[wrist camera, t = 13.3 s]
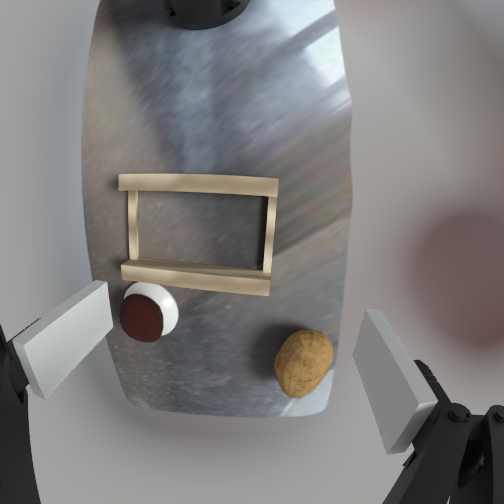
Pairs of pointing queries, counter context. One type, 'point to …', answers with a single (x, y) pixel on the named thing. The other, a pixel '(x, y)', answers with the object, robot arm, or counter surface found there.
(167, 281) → the cradle
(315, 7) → the counter surface
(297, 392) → the potato
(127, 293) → the plate
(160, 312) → the dark brown rounded piece
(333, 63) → the counter surface
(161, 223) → the counter surface
